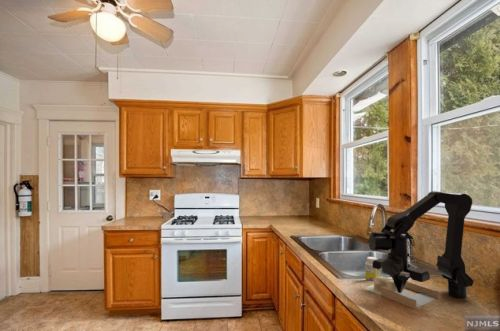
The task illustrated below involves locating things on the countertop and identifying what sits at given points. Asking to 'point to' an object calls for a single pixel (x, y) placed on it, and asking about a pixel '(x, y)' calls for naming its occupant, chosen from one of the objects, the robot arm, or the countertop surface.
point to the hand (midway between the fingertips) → (399, 292)
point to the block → (384, 284)
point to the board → (408, 294)
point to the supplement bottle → (371, 269)
